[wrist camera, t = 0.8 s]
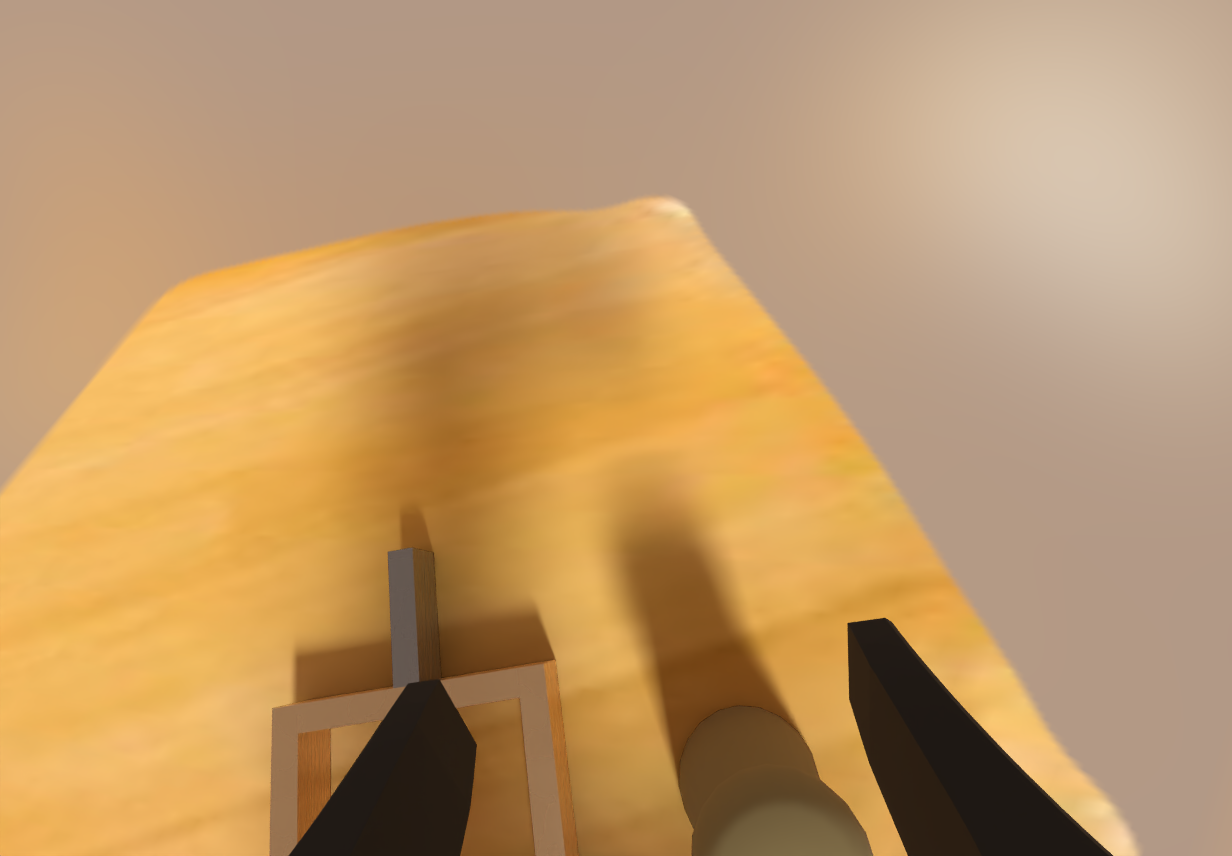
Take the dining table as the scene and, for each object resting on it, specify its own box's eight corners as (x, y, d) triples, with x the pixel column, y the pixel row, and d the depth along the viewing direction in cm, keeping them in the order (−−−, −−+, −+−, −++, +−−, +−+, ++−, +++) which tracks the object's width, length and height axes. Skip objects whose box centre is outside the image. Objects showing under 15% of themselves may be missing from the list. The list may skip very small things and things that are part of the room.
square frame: (616, 1172, 23) (608, 1237, 20) (304, 1208, 23) (261, 1276, 21) (540, 533, 30) (528, 526, 28) (306, 575, 31) (275, 572, 29)
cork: (653, 804, 26) (633, 932, 16) (720, 678, 27) (742, 718, 17) (780, 895, 25) (850, 1103, 14) (844, 757, 26) (952, 855, 15)
